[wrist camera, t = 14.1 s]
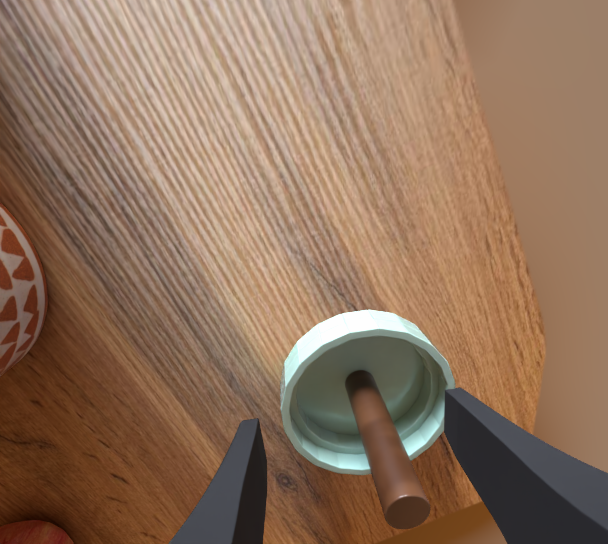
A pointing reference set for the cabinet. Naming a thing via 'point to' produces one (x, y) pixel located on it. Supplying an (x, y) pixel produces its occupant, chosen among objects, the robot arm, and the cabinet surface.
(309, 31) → the cabinet surface
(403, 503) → the stirring stick
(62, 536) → the fruit
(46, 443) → the cabinet surface
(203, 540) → the robot arm
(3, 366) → the planter
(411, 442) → the celadon bowl
